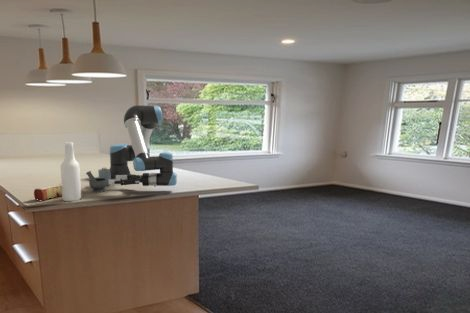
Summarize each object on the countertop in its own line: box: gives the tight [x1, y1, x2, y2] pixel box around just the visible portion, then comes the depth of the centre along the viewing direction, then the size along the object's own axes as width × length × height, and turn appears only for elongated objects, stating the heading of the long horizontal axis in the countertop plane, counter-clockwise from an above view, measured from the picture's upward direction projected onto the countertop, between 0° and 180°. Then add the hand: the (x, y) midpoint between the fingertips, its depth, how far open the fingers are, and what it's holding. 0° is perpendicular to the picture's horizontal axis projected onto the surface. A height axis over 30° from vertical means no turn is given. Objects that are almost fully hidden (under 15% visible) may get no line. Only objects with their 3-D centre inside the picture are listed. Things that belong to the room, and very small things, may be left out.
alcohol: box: [60, 141, 82, 202], centre depth 173 cm, size 9×9×30 cm
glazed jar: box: [98, 167, 112, 187], centre depth 209 cm, size 7×7×11 cm
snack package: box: [33, 183, 62, 201], centre depth 181 cm, size 21×7×7 cm, turn 159°
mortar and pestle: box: [85, 170, 107, 193], centre depth 193 cm, size 11×9×12 cm
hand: (112, 179), depth 193 cm, fingers open, 13 cm apart
